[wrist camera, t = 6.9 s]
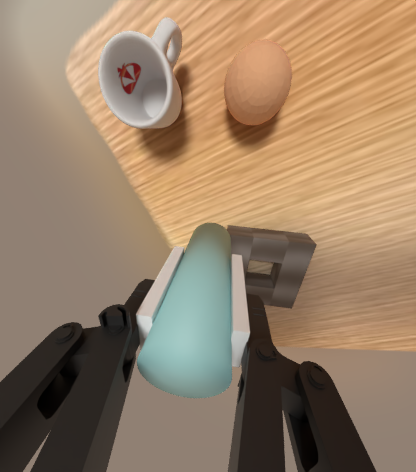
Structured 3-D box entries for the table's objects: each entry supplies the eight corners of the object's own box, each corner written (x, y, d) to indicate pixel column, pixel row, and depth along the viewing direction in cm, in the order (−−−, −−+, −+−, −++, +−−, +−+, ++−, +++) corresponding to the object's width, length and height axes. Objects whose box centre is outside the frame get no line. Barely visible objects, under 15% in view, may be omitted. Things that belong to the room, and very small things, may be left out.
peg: (192, 220, 17) (133, 333, 7) (233, 225, 17) (239, 352, 6) (190, 254, 19) (140, 388, 8) (227, 260, 19) (224, 404, 8)
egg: (236, 51, 22) (240, 1, 15) (291, 72, 23) (322, 33, 15) (217, 118, 26) (212, 105, 18) (265, 135, 26) (280, 130, 18)
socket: (227, 225, 33) (227, 234, 29) (306, 233, 32) (316, 244, 28) (220, 284, 39) (219, 298, 35) (285, 293, 38) (291, 308, 34)
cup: (159, 23, 22) (126, -37, 15) (211, 70, 23) (203, 36, 16) (125, 110, 27) (86, 95, 19) (170, 145, 28) (150, 143, 21)
